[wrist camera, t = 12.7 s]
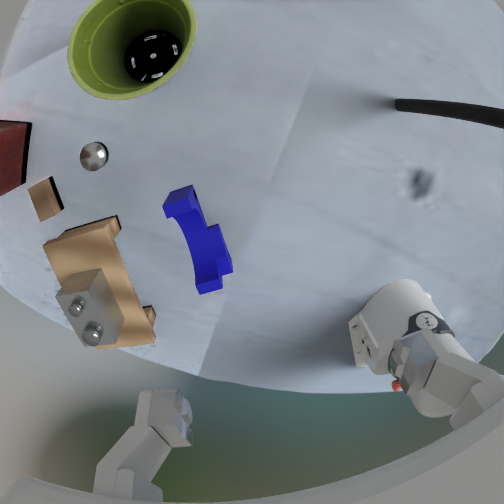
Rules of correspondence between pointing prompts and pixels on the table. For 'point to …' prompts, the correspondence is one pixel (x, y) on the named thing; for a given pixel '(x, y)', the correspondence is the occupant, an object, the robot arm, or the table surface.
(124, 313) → the stand
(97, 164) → the chrome bead
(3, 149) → the red grey canister
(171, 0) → the plant pot
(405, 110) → the solar garden light
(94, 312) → the housing
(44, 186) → the tan wooden block
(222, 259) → the blue curved block
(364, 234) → the table surface
